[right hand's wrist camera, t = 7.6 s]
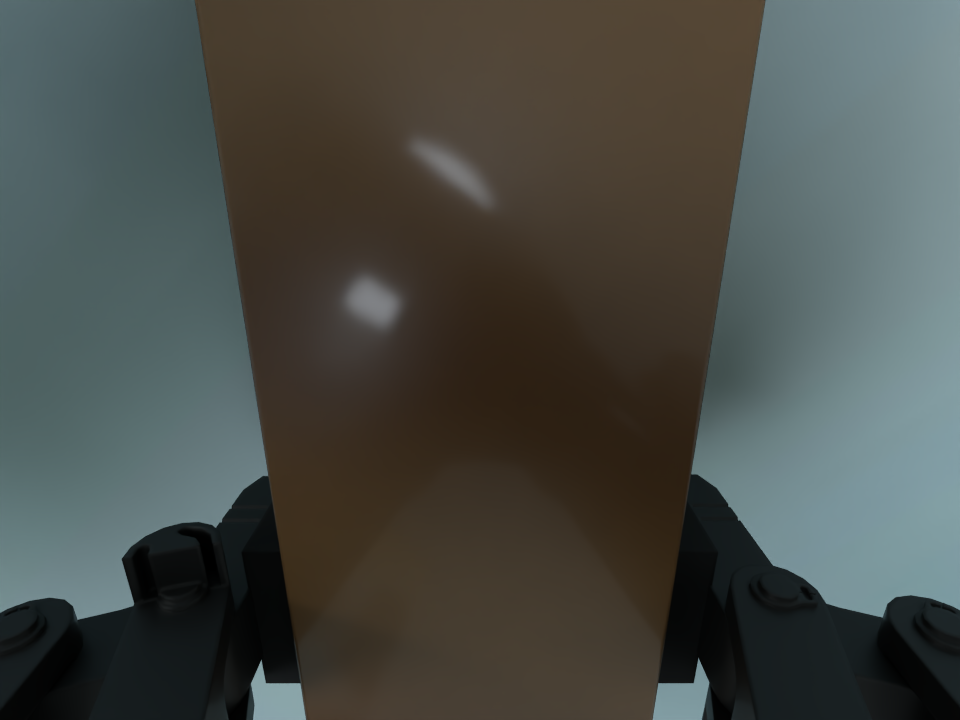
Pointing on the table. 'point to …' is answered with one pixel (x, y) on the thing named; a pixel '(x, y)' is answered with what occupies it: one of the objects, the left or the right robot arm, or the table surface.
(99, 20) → the table surface
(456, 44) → the beam
